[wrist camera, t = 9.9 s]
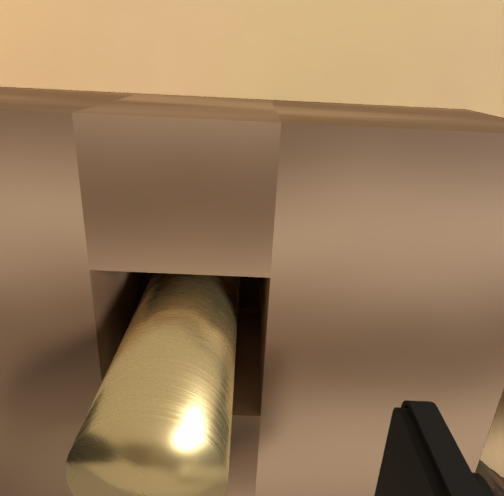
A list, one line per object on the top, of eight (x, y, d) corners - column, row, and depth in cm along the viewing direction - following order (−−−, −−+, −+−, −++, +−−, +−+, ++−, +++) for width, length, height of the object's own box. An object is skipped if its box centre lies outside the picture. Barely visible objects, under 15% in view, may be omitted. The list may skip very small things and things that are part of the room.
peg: (239, 292, 18) (225, 535, 9) (166, 289, 18) (74, 531, 9) (242, 223, 17) (230, 420, 8) (163, 219, 17) (55, 414, 8)
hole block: (403, 386, 20) (461, 512, 14) (1, 371, 20) (-98, 493, 14) (466, 109, 15) (589, 137, 10) (-62, 83, 15) (-249, 97, 9)
